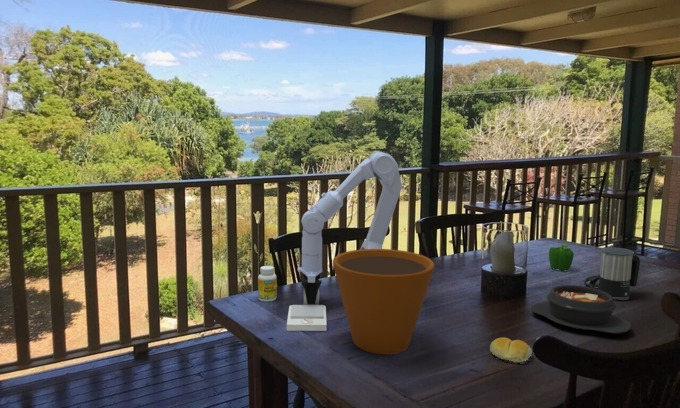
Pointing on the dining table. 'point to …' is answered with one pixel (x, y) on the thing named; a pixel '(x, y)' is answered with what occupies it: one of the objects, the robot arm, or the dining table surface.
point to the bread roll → (510, 349)
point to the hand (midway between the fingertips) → (311, 299)
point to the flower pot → (382, 296)
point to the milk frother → (616, 272)
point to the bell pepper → (561, 257)
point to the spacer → (316, 299)
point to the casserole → (581, 309)
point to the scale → (306, 318)
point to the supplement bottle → (267, 284)
